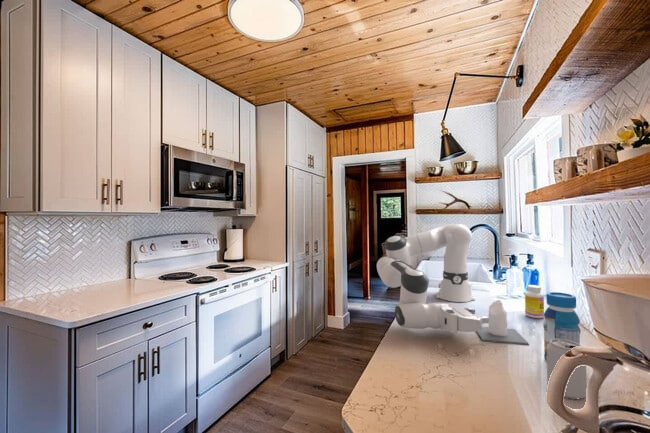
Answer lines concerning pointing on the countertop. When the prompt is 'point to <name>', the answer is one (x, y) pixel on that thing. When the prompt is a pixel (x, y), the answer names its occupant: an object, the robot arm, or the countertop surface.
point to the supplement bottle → (534, 302)
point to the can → (578, 378)
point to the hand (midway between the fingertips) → (480, 315)
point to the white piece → (497, 319)
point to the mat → (509, 338)
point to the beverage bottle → (560, 319)
